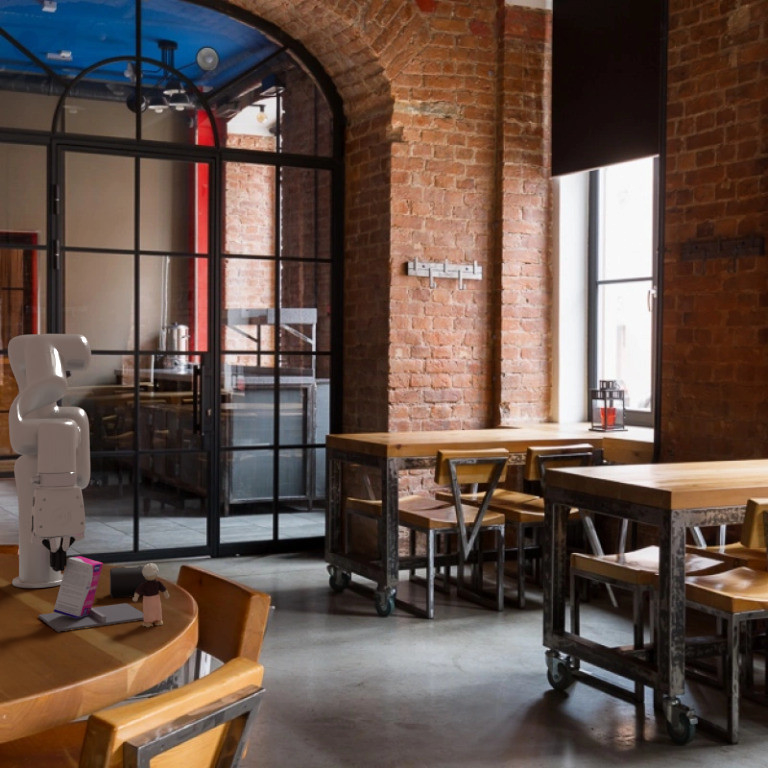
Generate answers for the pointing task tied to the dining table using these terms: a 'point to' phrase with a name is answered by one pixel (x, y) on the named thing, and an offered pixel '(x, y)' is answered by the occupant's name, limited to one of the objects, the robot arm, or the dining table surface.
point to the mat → (94, 617)
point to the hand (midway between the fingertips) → (58, 570)
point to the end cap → (125, 581)
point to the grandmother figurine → (151, 596)
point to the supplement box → (78, 587)
